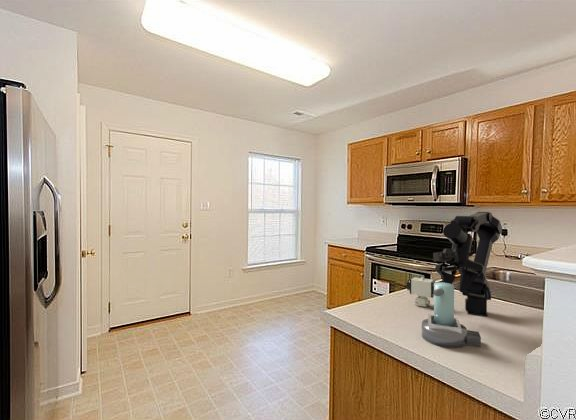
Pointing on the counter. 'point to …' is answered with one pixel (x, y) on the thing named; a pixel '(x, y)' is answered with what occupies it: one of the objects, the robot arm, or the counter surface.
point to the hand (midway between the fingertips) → (453, 292)
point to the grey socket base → (449, 334)
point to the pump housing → (444, 304)
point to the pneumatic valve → (421, 290)
